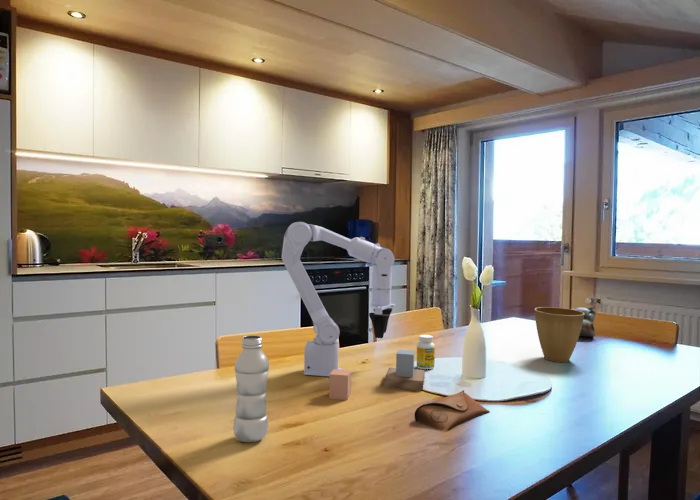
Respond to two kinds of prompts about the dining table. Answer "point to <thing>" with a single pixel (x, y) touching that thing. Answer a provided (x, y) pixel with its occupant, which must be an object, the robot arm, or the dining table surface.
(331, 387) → the terracotta block
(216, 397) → the dining table surface
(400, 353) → the slate block
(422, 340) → the supplement bottle
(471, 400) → the sunglasses case
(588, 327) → the lucky cat figurine
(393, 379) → the walnut base
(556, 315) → the plant pot
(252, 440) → the plastic bottle
